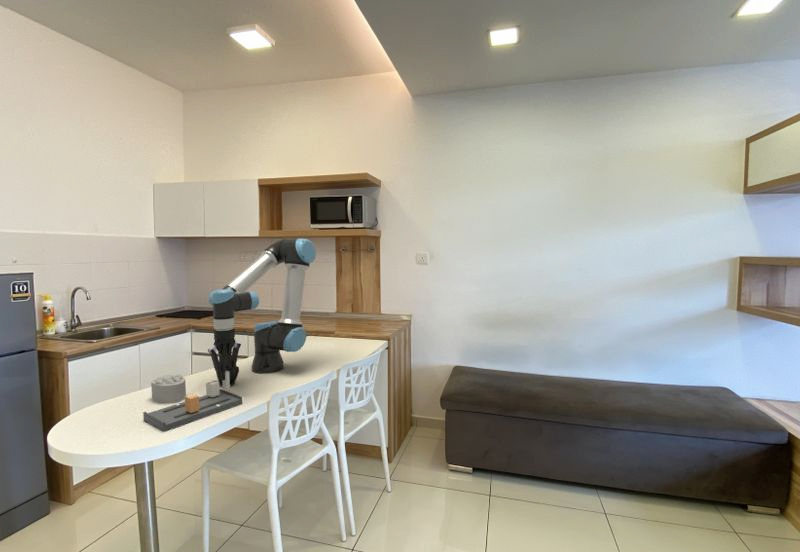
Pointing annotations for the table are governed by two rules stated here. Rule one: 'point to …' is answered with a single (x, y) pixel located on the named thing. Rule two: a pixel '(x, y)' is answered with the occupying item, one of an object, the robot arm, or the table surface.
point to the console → (179, 416)
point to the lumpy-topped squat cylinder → (168, 389)
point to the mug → (233, 376)
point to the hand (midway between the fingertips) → (226, 387)
